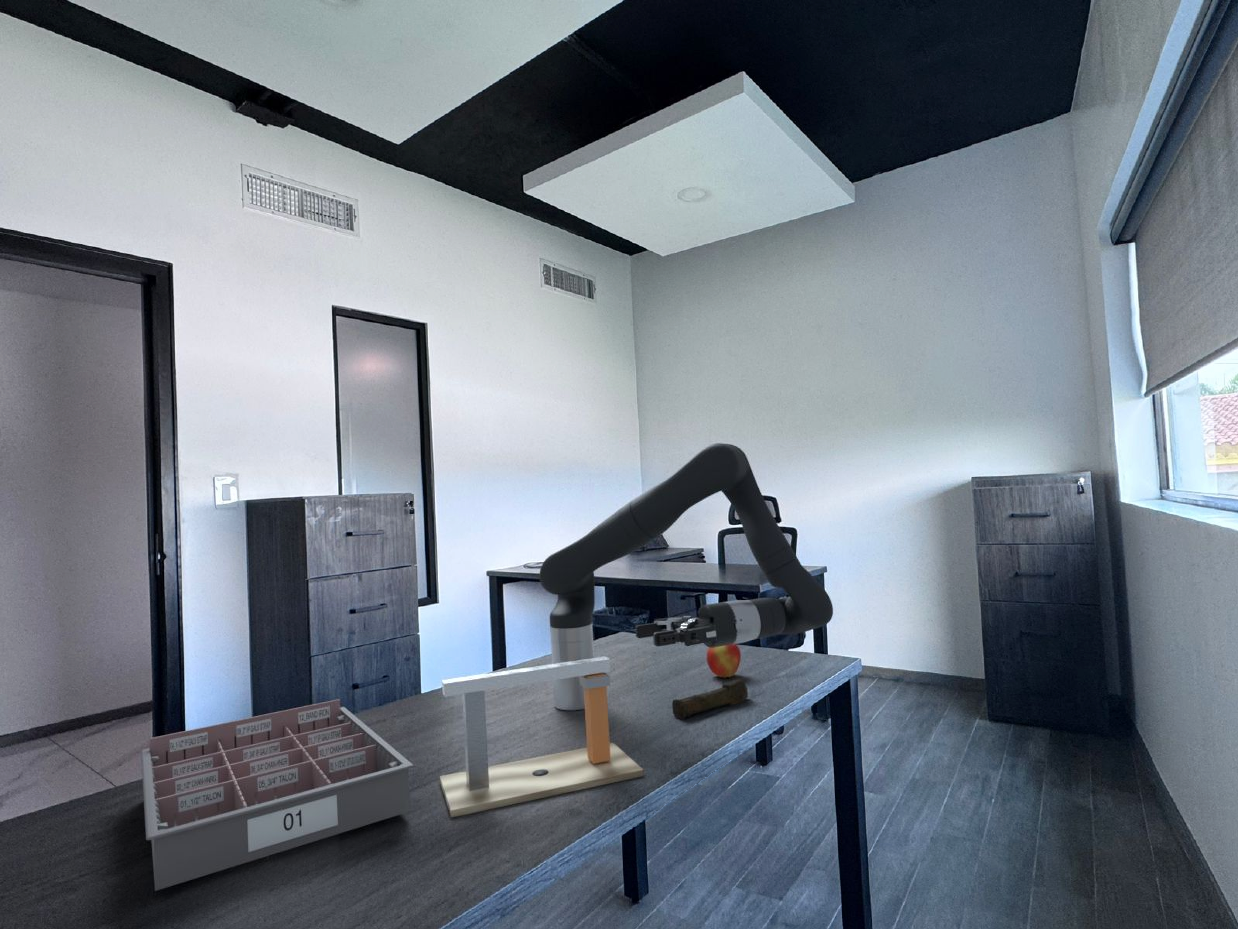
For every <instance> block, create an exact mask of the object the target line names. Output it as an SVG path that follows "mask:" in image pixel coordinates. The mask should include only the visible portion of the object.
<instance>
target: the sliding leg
mask: <svg viewBox="0 0 1238 929" xmlns="http://www.w3.org/2000/svg"><path fill="white" fill-rule="evenodd" d="M579 680H580V684H581V685H582V686H583V687H584V702H585V709H584V716H585V718H584V719H585V731H586V732H585V733H586V735H585V736H586V748H587V755H588V759H589V760H590V761H591V762H592V763H593V764H595V763H600V762H605V761H610V760H611V757H610V743H611V742H610V729H609V728H610V727H609V709H608V706H609V705H608V691H607V687H609V686H611V677H610V674H608V673H607V672H603V673H596V674H590V675H583V676H579Z"/></svg>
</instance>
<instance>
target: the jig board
mask: <svg viewBox="0 0 1238 929" xmlns="http://www.w3.org/2000/svg"><path fill="white" fill-rule="evenodd" d="M610 757H611V760H610V761H605V762H600V763H595V764H593V763H592V762H591V761H590V760H589V759H588V755H587V747H584V748H578V749H573V750H567V751H562V752H557V753H553V754H552V753H551V754H547V755H543V756H542V755H541V756H536V757H532V758H531V757H530V758H526V759H522V760H516V761H515V760H514V761H512V762H505V763H501V764H500V763H499V764H496V765H495V764H494V765H490V766H489V765H488V773H489V787H487V788H483V789H478V790H473V791H469V789H468V786H467V781H466V770H465V771H459V772H455V773H449V774H443V775H439V783H440V786H441V790H442V793H443V796H444V800H445V803H446V805H447V808H448V811H449V814H450V815H449V816H450V818H455V817H460V816H464V815H469V814H474V813H478V812H484V811H488V810H492V809H497V808H501V807H507V806H510V805H516V804H520V803H524V802H525V803H526V802H529V801H534V800H539V799H542V798H544V799H545V798H548V797H553V796H558V795H562V794H566V793H571V792H576V791H580V790H584V789H590V788H594V787H599V786H603V785H608V784H612V783H617V782H622V781H626V780H632V779H636V778H640V777H644V776H645V775H644V774H645V773H644V768H642V767H641V766H640V765H639V764H638V763H637V762H636V761H634V760H633V758H631V757H630V756H629V755H627V753H625V752H624V751H623V750H622V749H621V748H620V747H619V746H617V745H616V744H615V743H614V742H610Z"/></svg>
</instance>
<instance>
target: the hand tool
mask: <svg viewBox="0 0 1238 929" xmlns="http://www.w3.org/2000/svg"><path fill="white" fill-rule="evenodd" d="M748 693H749V692H748V687H747V685H746V683H745V680H743V679H733V680H730V681H725V682H724V683H722V684H721V687H719V688H717V689H713V690H710V691H707V692H702V693H700V694H694V695H691V696H688V697H687V696H686V697H684V698H680V699H677V698H674V699H673V700H672V702H671V705H672V706H671V707H672V714H673V715H674V718H676V717H677V719H678V718H679V719H678V720H684V719H685V718H686V717H687V718H691V716H692V715H694V714H698V713H700V712H705V711H708V710H711V709H714V708H717V707H721V706H723V705H725V706H730V705H731V706H735V705H738V704H740V703H742V702H744V701H746V700H747V699H748V697H749V694H748ZM746 698H747V699H746ZM743 700H744V701H743ZM739 702H740V703H739ZM737 703H738V704H737ZM734 704H735V705H734Z"/></svg>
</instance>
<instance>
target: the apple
mask: <svg viewBox="0 0 1238 929" xmlns="http://www.w3.org/2000/svg"><path fill="white" fill-rule="evenodd" d="M706 662H707V666H708V668H709V670H710V671H711V672H712V674H714V675H715V676H717V677H720V678H722V677H723V679H727V678H726V677H729V678H731V677H733V676H735V675H736V674H737V672H738V669H739V667H740V663H741V649H740V648H739V646H738V644H732V645H726V646H720V647H714V648H709V647H708V649H707V652H706Z"/></svg>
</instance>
